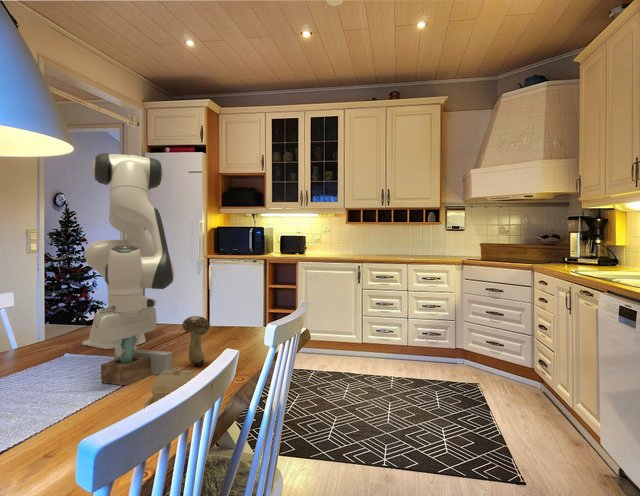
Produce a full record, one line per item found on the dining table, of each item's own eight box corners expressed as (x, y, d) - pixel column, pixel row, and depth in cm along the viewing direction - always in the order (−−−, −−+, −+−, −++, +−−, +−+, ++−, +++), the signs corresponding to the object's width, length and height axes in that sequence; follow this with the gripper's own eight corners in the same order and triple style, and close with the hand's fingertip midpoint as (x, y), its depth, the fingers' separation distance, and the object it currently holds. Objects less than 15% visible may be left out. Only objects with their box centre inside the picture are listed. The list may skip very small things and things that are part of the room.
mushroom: (188, 361, 133) (187, 314, 133) (215, 361, 133) (214, 314, 132) (177, 370, 124) (176, 320, 123) (206, 370, 123) (205, 320, 123)
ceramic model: (214, 402, 100) (214, 360, 99) (199, 422, 88) (199, 375, 88) (156, 401, 100) (156, 360, 100) (134, 421, 89) (134, 375, 89)
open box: (101, 382, 113) (100, 364, 113) (128, 371, 122) (127, 354, 122) (125, 385, 110) (125, 367, 110) (150, 374, 120) (150, 356, 120)
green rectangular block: (118, 372, 115) (117, 336, 115) (125, 369, 118) (125, 334, 118) (127, 373, 114) (127, 337, 114) (134, 370, 117) (134, 335, 117)
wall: (114, 370, 124) (114, 350, 124) (121, 367, 127) (121, 347, 126) (165, 375, 119) (165, 354, 118) (172, 372, 121) (172, 352, 121)
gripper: (103, 310, 105) (104, 365, 105) (160, 299, 124) (160, 345, 125) (84, 309, 107) (85, 362, 107) (143, 298, 126) (143, 343, 127)
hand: (126, 353), depth 116 cm, fingers closed on green rectangular block, 3 cm apart
